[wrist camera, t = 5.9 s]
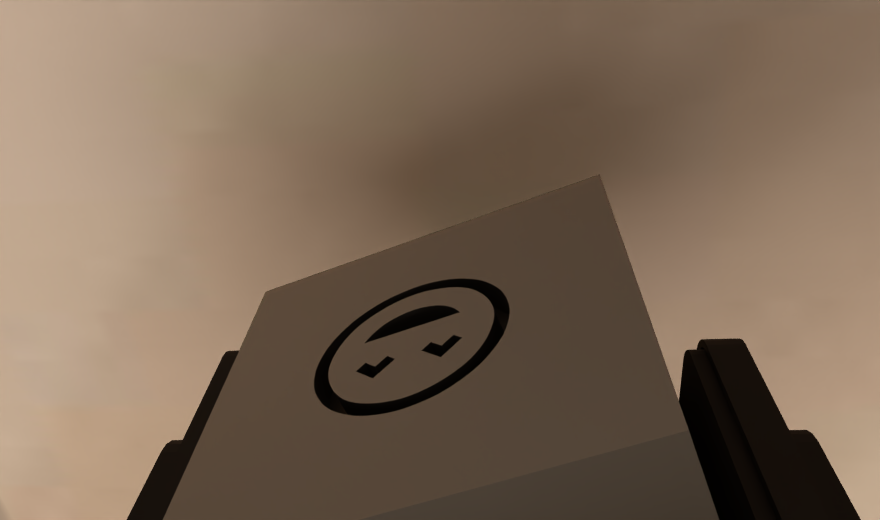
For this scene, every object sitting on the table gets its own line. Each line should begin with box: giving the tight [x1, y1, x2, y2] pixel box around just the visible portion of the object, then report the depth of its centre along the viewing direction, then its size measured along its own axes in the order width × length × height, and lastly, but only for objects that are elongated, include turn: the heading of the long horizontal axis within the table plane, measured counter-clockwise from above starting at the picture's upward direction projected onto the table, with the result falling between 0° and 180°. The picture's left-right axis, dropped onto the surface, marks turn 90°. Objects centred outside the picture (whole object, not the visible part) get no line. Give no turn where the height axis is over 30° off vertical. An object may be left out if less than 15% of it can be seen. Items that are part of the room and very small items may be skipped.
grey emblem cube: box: [163, 175, 719, 520], centre depth 10 cm, size 5×5×5 cm
